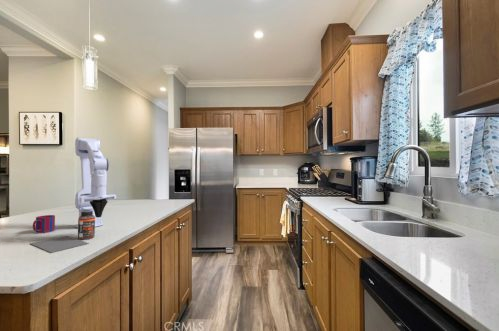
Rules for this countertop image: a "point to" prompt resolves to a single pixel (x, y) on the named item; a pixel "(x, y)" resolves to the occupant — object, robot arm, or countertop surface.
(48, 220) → the mug
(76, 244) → the mat
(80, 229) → the supplement bottle
